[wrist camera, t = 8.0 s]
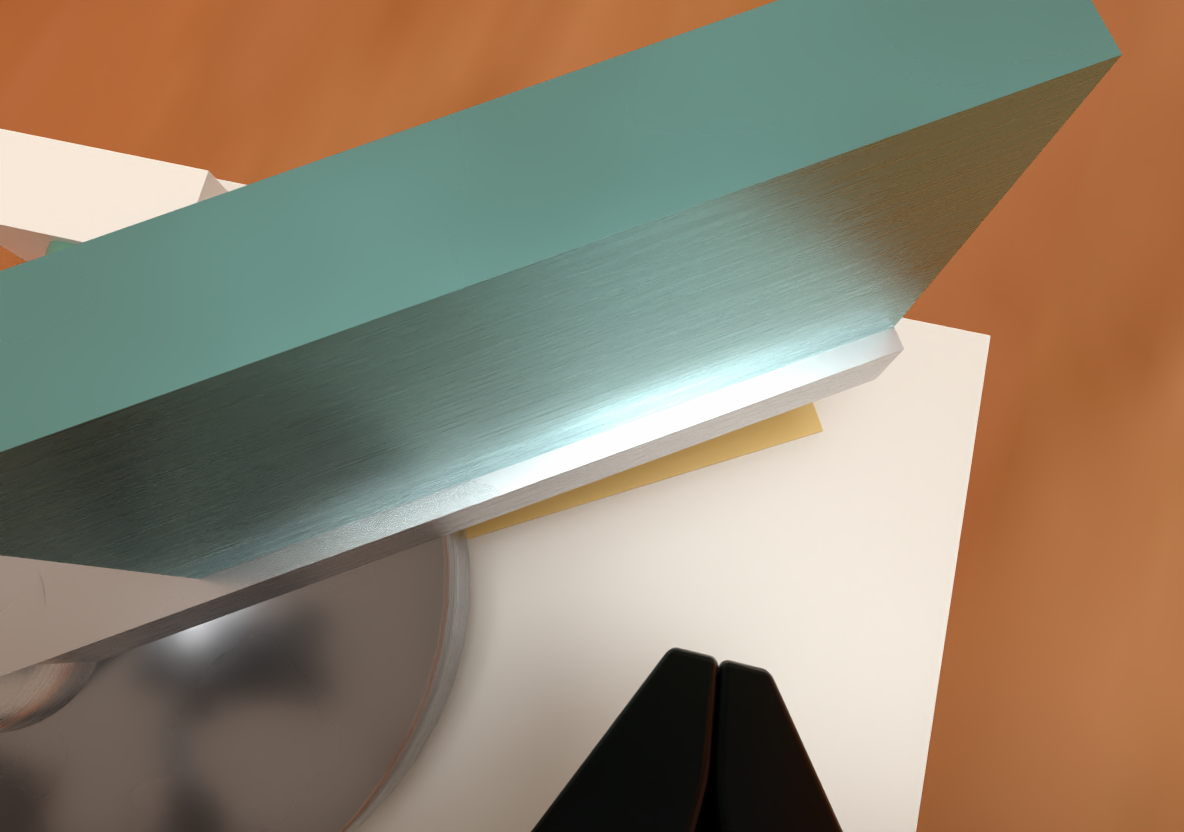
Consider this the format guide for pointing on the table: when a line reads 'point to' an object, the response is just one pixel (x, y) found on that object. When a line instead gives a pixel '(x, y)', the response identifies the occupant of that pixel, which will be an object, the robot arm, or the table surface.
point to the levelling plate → (661, 558)
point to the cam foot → (451, 381)
